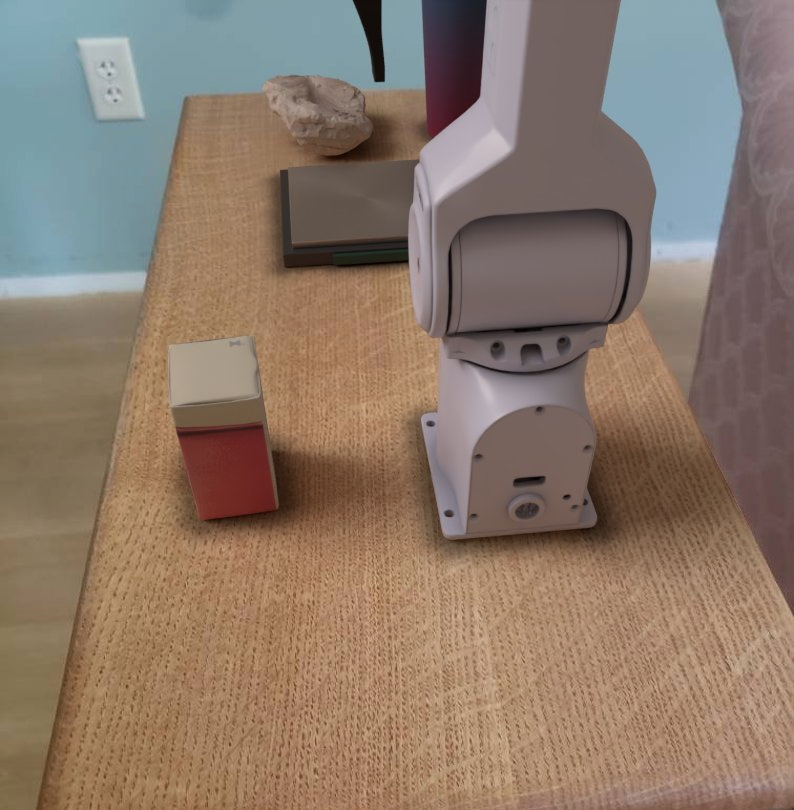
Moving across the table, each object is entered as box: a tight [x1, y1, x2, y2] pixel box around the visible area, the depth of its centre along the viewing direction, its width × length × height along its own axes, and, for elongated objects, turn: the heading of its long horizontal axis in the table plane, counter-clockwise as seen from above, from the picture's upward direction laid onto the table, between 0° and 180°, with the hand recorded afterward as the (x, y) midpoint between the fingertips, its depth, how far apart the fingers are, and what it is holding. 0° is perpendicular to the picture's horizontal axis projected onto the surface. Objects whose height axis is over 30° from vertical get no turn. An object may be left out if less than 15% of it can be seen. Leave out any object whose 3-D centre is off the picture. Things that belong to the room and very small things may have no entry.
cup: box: [421, 0, 487, 139], centre depth 70 cm, size 7×7×15 cm
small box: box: [167, 334, 280, 521], centre depth 43 cm, size 5×4×8 cm
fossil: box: [262, 74, 374, 157], centre depth 73 cm, size 9×6×10 cm
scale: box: [279, 158, 420, 268], centre depth 65 cm, size 13×13×2 cm
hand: (434, 73), depth 58 cm, fingers open, 7 cm apart
